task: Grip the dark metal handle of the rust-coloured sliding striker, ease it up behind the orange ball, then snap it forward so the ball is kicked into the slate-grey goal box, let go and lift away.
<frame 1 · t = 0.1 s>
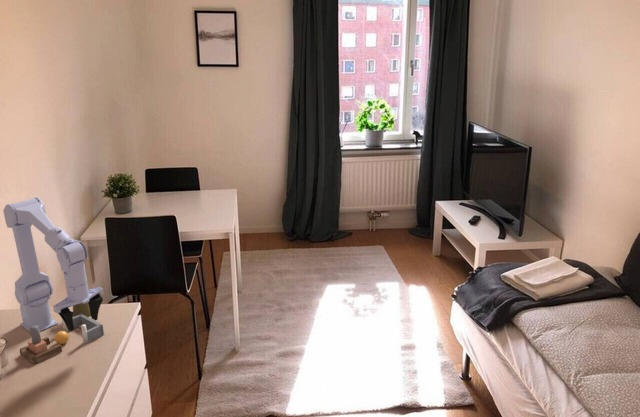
hand: (82, 324, 162), 10 cm above the table, tool pointing down, fingers open, 7 cm apart
striker: (36, 340, 163), point 5 cm above the table, slide at 0.0 cm
ball: (61, 337, 170), point 2 cm above the table
rail frame: (42, 352, 165), on the table
goal: (84, 332, 176), on the table
olive green tapered cylinder: (82, 315, 187), on the table
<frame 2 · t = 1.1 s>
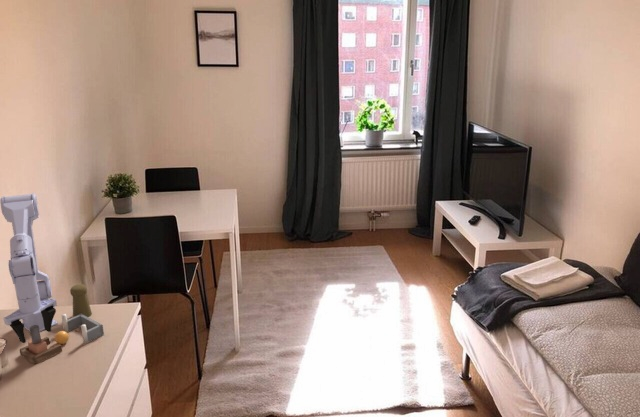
hand: (35, 336, 163), 6 cm above the table, tool pointing down, fingers open, 7 cm apart
nothing on the table moved.
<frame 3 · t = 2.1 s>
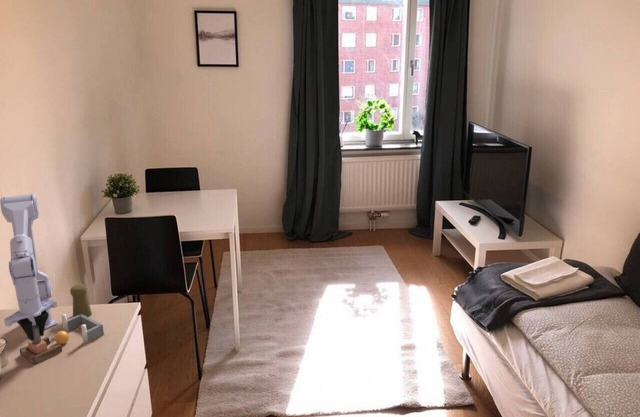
hand: (35, 337, 163), 6 cm above the table, tool pointing down, fingers closed on striker, 2 cm apart
striker: (36, 340, 163), point 5 cm above the table, slide at 0.0 cm, touching gripper
everything else where it was.
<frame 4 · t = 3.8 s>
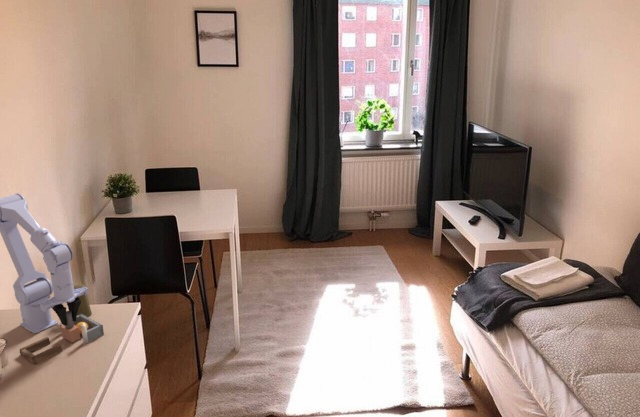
hand: (68, 322, 171), 6 cm above the table, tool pointing down, fingers closed on striker, 2 cm apart
striker: (69, 325, 171), point 5 cm above the table, slide at 10.5 cm, touching gripper
ball: (81, 328, 175), point 2 cm above the table, tilted 171°
everything else where it was.
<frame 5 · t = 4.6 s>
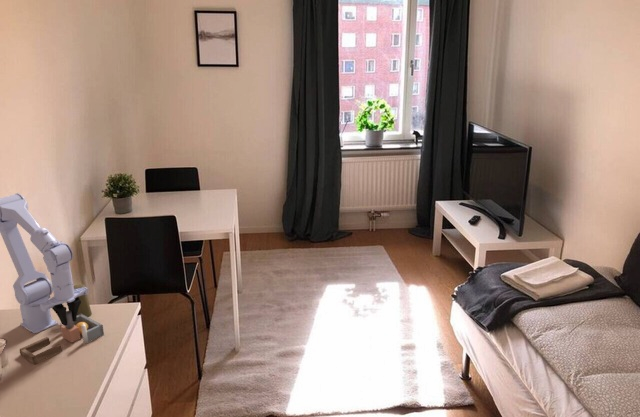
hand: (68, 322, 171), 6 cm above the table, tool pointing down, fingers closed on striker, 2 cm apart
striker: (69, 325, 171), point 5 cm above the table, slide at 10.5 cm, touching gripper
everything else where it was.
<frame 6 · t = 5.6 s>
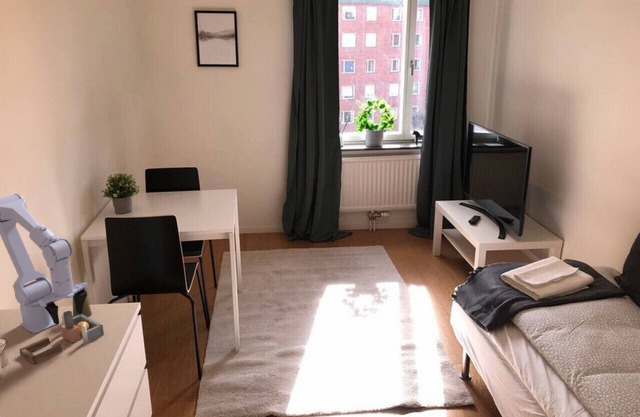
hand: (68, 318, 170), 7 cm above the table, tool pointing down, fingers open, 7 cm apart
striker: (69, 325, 171), point 5 cm above the table, slide at 10.5 cm
ball: (82, 327, 175), point 2 cm above the table, tilted 161°
everything else where it was.
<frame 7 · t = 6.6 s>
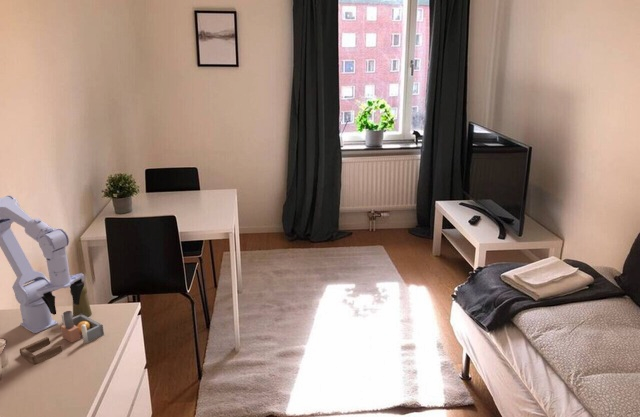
hand: (65, 308, 171), 10 cm above the table, tool pointing down, fingers open, 7 cm apart
ball: (83, 327, 175), point 2 cm above the table, tilted 151°
everything else where it was.
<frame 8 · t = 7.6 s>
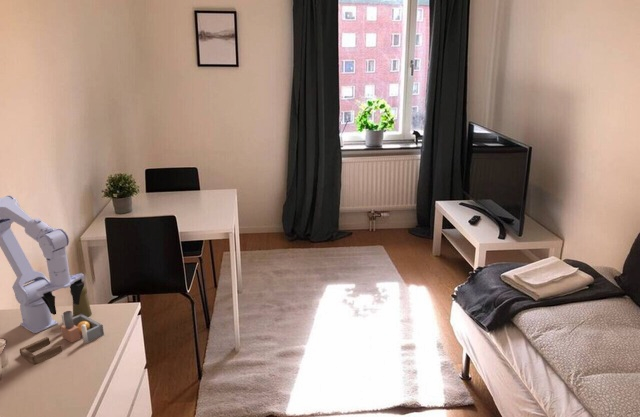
hand: (65, 308, 171), 10 cm above the table, tool pointing down, fingers open, 7 cm apart
nothing on the table moved.
at the end: ball inside the target area (0.1 cm from its centre), point 2.0 cm above the table; striker slide at 10.5 cm; olive green tapered cylinder moved 0.2 cm from its start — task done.
